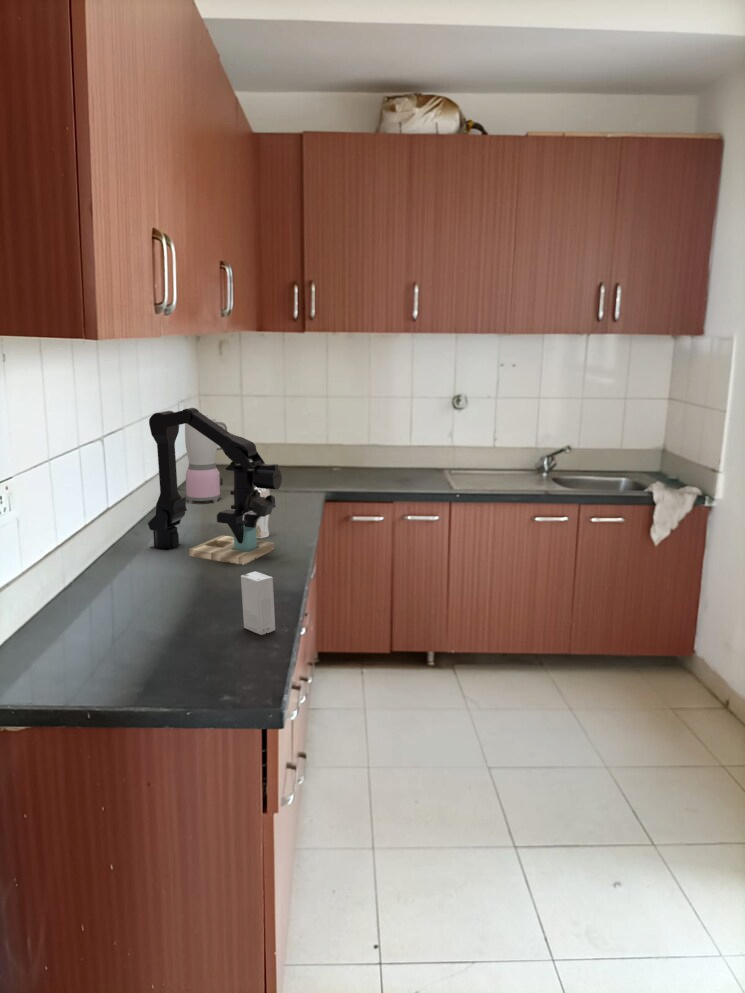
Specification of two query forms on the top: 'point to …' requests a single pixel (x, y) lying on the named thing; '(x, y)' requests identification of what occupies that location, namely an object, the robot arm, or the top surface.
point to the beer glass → (263, 521)
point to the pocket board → (229, 550)
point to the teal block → (247, 540)
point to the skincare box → (258, 602)
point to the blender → (202, 465)
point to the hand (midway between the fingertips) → (245, 541)
